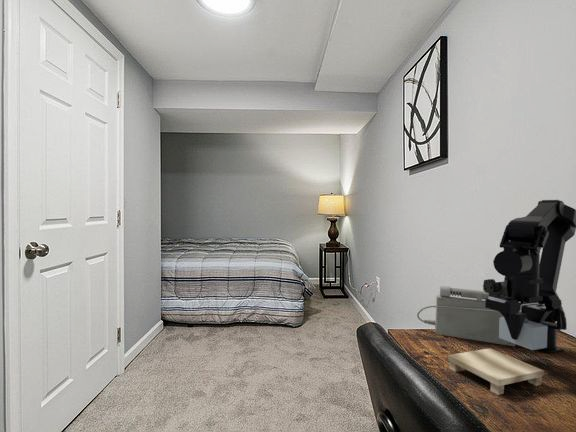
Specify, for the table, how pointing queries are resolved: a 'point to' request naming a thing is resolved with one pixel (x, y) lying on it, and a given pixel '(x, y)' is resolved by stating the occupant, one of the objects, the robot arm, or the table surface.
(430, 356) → the table surface
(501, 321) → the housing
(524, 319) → the robot arm
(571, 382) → the table surface
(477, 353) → the stand
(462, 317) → the geiger counter
